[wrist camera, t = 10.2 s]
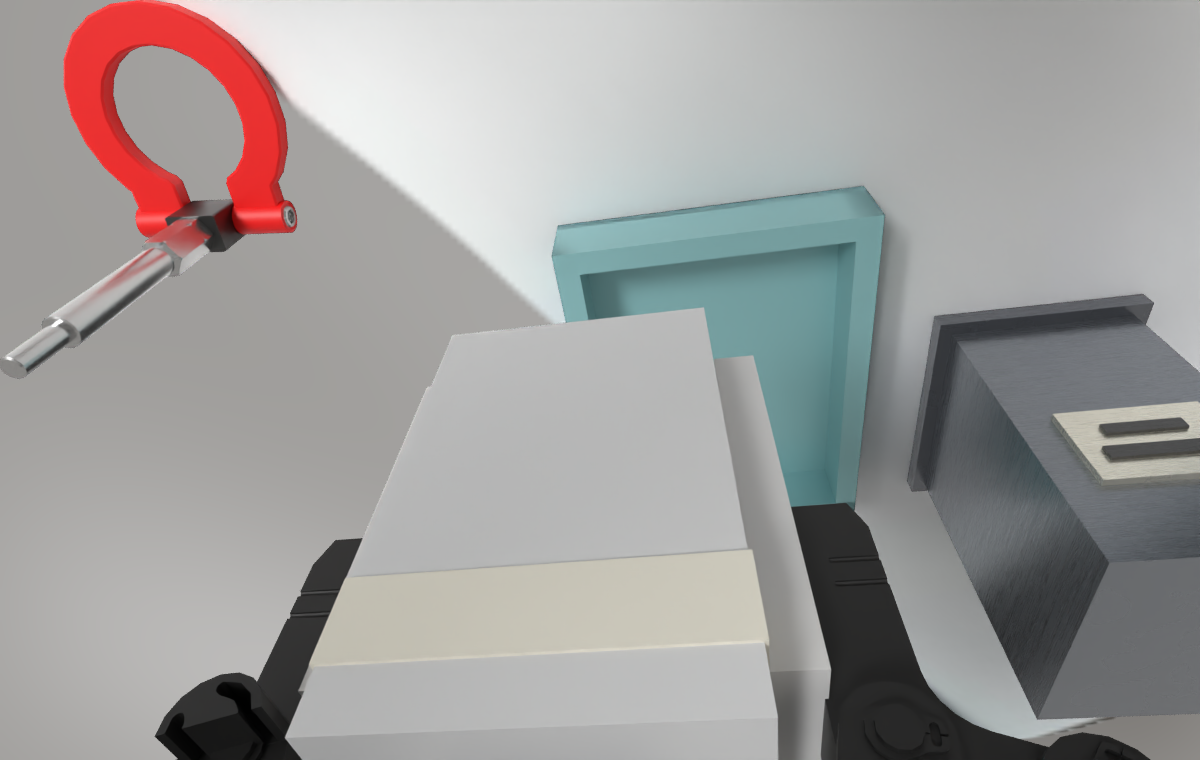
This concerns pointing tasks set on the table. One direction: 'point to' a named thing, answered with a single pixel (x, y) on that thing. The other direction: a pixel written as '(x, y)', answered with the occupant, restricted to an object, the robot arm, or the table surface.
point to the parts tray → (756, 308)
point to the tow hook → (160, 195)
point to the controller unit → (1072, 498)
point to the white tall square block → (554, 565)
